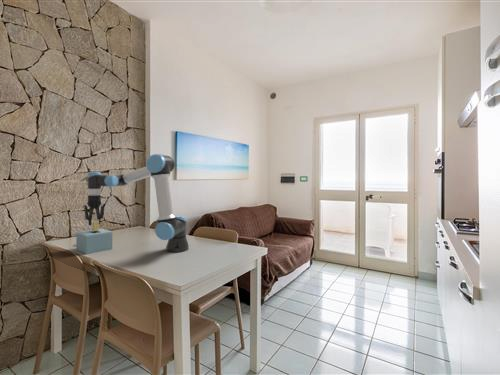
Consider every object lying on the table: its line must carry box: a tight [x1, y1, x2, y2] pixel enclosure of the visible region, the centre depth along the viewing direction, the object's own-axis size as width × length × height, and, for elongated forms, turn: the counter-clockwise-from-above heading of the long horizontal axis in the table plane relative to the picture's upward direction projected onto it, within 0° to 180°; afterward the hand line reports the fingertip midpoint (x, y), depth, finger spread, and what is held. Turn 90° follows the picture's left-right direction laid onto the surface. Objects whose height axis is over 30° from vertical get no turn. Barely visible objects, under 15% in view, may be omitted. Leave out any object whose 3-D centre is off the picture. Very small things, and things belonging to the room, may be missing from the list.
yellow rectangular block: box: [92, 219, 100, 231], centre depth 176 cm, size 6×3×6 cm, turn 54°
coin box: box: [75, 228, 113, 255], centre depth 176 cm, size 16×16×12 cm
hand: (94, 229), depth 176 cm, fingers closed on yellow rectangular block, 3 cm apart
